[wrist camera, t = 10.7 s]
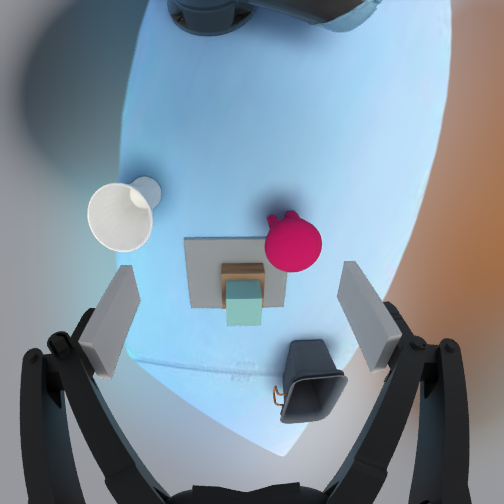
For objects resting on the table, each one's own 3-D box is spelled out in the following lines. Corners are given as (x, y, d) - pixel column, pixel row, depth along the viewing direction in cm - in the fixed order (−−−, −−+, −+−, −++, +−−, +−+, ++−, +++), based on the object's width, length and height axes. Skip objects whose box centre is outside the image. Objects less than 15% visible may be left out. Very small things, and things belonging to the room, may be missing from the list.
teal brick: (226, 279, 51) (225, 299, 46) (259, 279, 52) (262, 298, 46) (227, 305, 54) (227, 325, 49) (258, 305, 54) (260, 325, 49)
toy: (266, 244, 54) (277, 288, 41) (251, 205, 50) (258, 239, 37) (307, 228, 53) (331, 267, 40) (294, 189, 49) (318, 217, 36)
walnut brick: (221, 263, 54) (220, 273, 51) (262, 262, 55) (265, 273, 51) (222, 296, 58) (222, 308, 54) (261, 296, 58) (263, 307, 55)
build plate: (184, 237, 52) (183, 239, 51) (289, 237, 54) (290, 239, 53) (191, 305, 59) (191, 308, 59) (282, 304, 61) (283, 306, 60)
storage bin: (316, 381, 76) (327, 420, 63) (265, 385, 74) (270, 426, 62) (334, 331, 66) (351, 374, 53) (273, 333, 65) (282, 380, 52)
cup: (112, 206, 48) (80, 234, 36) (131, 156, 44) (99, 170, 32) (159, 229, 51) (138, 263, 39) (181, 180, 47) (164, 202, 35)
